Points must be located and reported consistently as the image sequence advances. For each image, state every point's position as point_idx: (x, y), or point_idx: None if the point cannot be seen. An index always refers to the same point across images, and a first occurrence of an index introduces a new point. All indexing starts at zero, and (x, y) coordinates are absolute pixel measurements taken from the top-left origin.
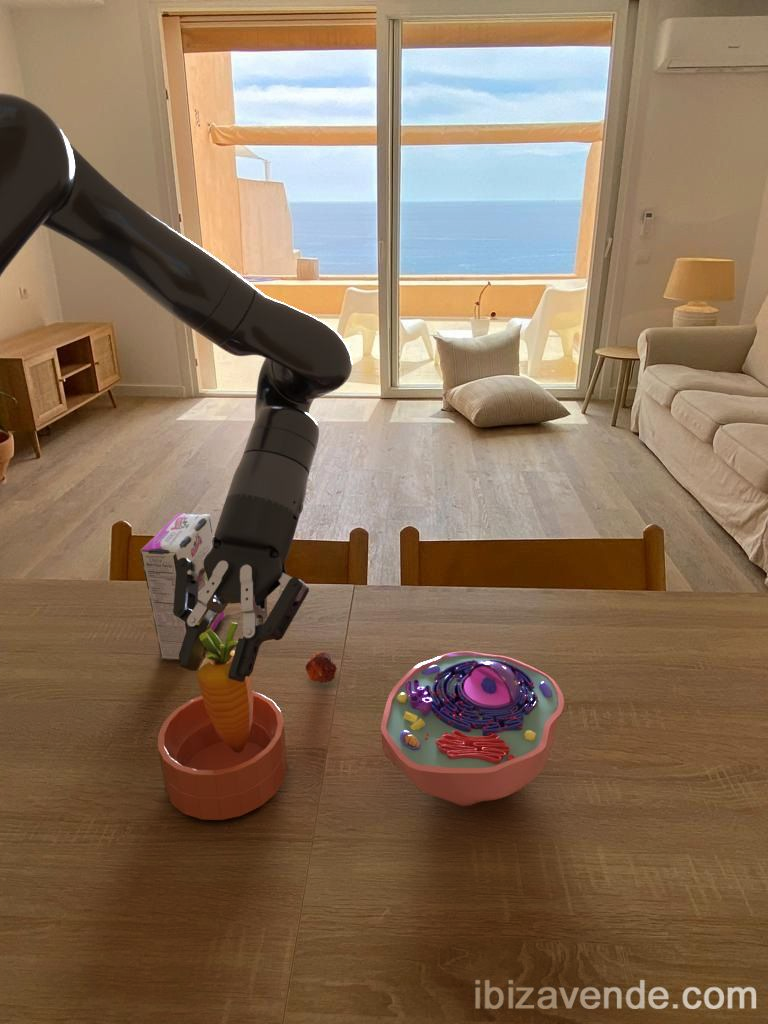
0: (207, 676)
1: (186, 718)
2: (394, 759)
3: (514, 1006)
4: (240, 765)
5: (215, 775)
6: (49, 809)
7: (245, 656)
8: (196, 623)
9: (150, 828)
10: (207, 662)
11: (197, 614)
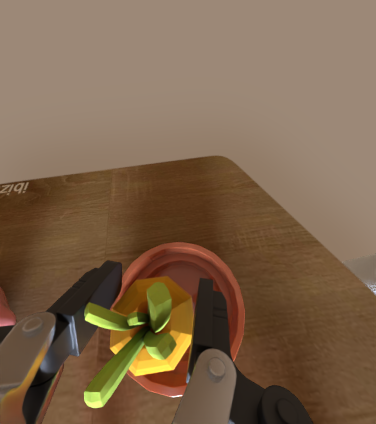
0: (166, 281)
1: (231, 335)
2: (2, 302)
3: (11, 185)
4: (143, 258)
5: (162, 244)
6: (297, 251)
7: (77, 289)
8: (200, 357)
9: (217, 247)
10: (175, 312)
11: (204, 391)
